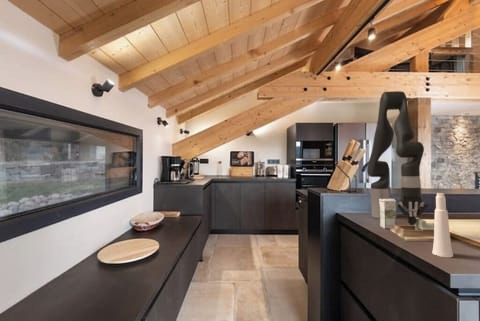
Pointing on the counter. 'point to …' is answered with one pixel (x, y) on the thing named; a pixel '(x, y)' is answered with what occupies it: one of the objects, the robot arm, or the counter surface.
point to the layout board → (413, 233)
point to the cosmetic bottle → (441, 229)
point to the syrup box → (387, 213)
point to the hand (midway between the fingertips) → (411, 224)
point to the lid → (424, 224)
